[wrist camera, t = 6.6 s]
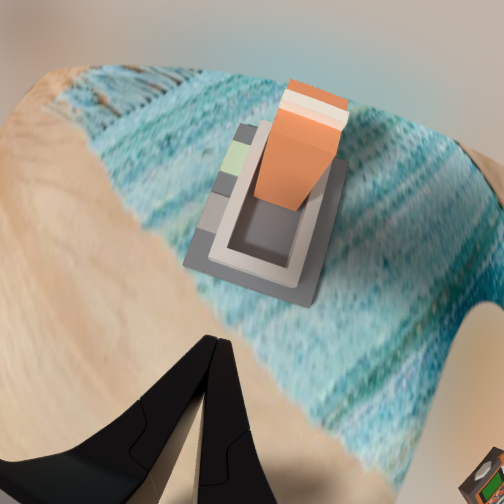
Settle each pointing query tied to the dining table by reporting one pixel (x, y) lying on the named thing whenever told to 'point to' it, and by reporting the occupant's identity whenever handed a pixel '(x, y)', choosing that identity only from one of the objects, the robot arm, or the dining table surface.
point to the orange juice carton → (300, 144)
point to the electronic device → (486, 480)
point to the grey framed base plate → (264, 226)
